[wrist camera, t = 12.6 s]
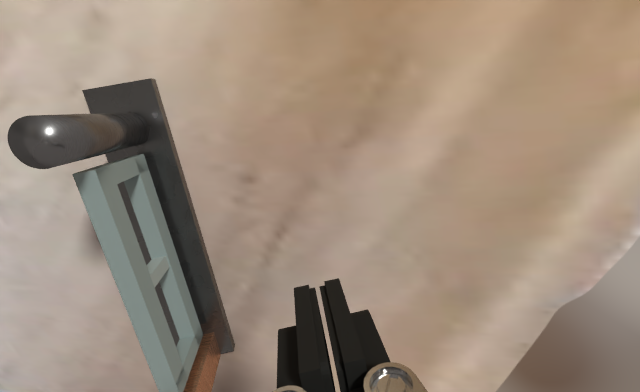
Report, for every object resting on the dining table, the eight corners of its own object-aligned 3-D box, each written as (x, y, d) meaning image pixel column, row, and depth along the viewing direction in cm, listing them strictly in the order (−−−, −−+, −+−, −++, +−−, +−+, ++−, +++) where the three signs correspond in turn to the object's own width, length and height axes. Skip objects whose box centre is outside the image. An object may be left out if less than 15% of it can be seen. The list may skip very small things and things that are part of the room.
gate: (127, 156, 30) (72, 174, 22) (143, 153, 30) (95, 169, 22) (189, 337, 35) (163, 401, 27) (203, 334, 35) (181, 397, 28)
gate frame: (183, 356, 38) (135, 478, 25) (88, 90, 30) (-53, 78, 17) (234, 344, 38) (211, 459, 26) (155, 79, 30) (63, 59, 17)
